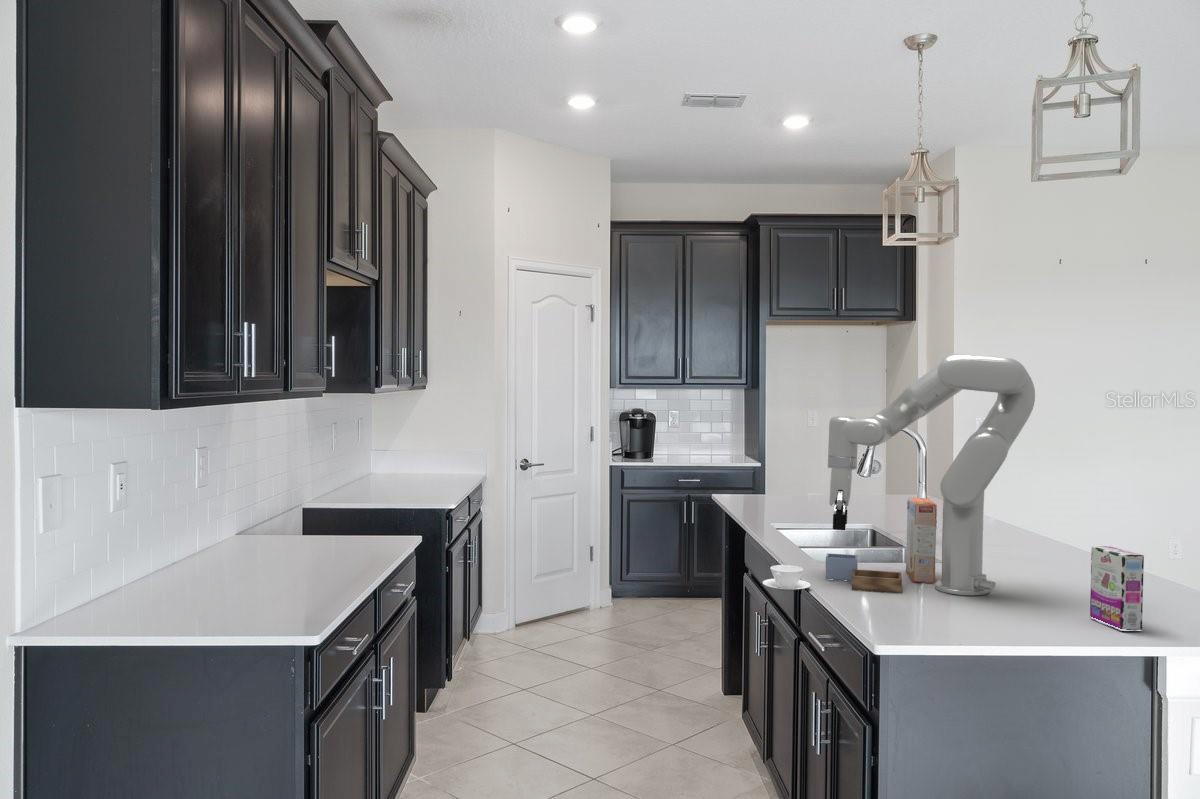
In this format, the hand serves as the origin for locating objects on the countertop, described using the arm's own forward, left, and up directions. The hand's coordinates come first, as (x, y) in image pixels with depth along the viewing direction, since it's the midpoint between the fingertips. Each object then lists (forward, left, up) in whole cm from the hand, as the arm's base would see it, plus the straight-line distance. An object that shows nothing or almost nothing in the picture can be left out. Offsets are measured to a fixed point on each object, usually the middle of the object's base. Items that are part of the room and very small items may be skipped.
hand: (839, 526), depth 241 cm
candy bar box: (-64, -14, -14) cm, 67 cm away
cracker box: (-11, -19, -14) cm, 26 cm away
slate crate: (-1, 0, -14) cm, 14 cm away
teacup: (-1, +21, -14) cm, 25 cm away
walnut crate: (-13, +1, -14) cm, 19 cm away
